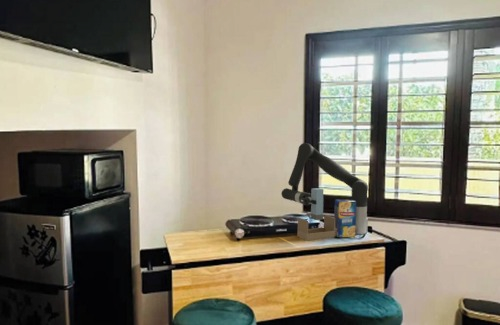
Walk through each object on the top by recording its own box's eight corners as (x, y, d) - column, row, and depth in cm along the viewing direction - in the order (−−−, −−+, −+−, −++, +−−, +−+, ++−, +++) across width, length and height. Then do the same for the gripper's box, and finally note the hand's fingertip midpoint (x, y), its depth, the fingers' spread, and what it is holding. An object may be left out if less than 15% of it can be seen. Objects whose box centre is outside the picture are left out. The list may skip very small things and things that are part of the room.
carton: (324, 234, 234) (324, 215, 233) (334, 238, 225) (335, 218, 224) (297, 237, 225) (297, 217, 224) (307, 241, 216) (307, 221, 215)
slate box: (317, 217, 228) (318, 188, 227) (322, 219, 223) (323, 189, 222) (310, 218, 226) (311, 188, 224) (315, 220, 221) (316, 189, 220)
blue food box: (355, 237, 228) (356, 201, 226) (338, 238, 226) (339, 201, 224) (350, 234, 234) (351, 199, 233) (333, 235, 232) (334, 199, 231)
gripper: (293, 192, 233) (310, 196, 218) (312, 191, 239) (329, 195, 224) (293, 204, 234) (309, 209, 218) (312, 203, 240) (329, 207, 225)
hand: (319, 202), depth 221 cm, fingers closed on slate box, 5 cm apart
